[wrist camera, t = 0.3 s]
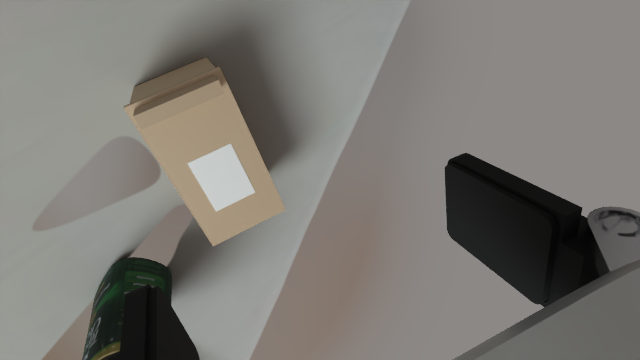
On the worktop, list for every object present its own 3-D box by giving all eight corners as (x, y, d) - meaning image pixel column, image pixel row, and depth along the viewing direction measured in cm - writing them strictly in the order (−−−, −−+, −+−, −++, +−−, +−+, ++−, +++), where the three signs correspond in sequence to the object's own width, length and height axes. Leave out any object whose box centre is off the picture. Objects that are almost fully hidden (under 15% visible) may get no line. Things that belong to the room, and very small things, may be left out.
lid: (124, 106, 31) (121, 115, 28) (219, 66, 32) (224, 71, 30) (212, 243, 40) (216, 260, 37) (284, 207, 41) (292, 220, 39)
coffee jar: (116, 247, 44) (94, 381, 29) (179, 263, 49) (190, 387, 33) (83, 309, 46) (47, 466, 31) (147, 319, 50) (144, 462, 35)
